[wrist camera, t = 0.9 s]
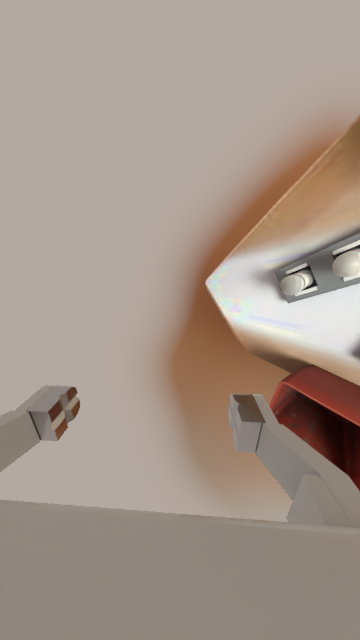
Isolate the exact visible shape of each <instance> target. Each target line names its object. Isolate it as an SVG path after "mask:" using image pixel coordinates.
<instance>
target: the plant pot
mask: <svg viewBox="0 0 360 640" xmlns="http://www.w3.org/2000/svg"><path fill="white" fill-rule="evenodd" d="M322 405H323V406H322ZM269 406H270V408H271V410H272V412H273V414H274V415H275V417H276V419H277V421H278V423H279V424H283V425H284V426H286V427H287V428H288V429H289V430H291V431H292V432H293V433H294V434H296V435H297V436H298V437H300V438H301V439H302V440H303V441H305V442H306V443H307V444H308V445H310V446H311V447H312V448H313V449H315V450H316V451H317V452H319V453H320V454H321V455H322V456H324V457H325V458H326V459H327V460H329V461H330V462H331V463H333V464H334V465H335V466H336V467H338V468H339V469H340V470H341V471H343V472H344V473H345V474H347V475H348V476H349V477H350V479H351V480H352V481H353V483H354V484H355V485H356V487H357V488H358V490H359V491H360V386H358V385H355V384H353V383H351V382H349V381H347V380H345V379H343V378H340V377H338V376H336V375H334V374H332V373H330V372H327V371H325V370H323V369H321V368H319V367H317V366H313V365H312V366H307V367H304V368H301V369H299V370H297V371H295V372H293V373H291V374H290V375H289V376H287V377H286V378H285V379H283V380H282V381H281V382H280V383H279V385H278V387H277V390H276V392H275V394H274V396H273V399H272V401H271V403H270V405H269Z"/></svg>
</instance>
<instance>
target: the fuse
mask: <svg viewBox="0 0 360 640" xmlns="http://www.w3.org/2000/svg"><path fill="white" fill-rule="evenodd" d="M314 281H315V278H314V275H313V273H312V271H311V270H307V269H305V270H301V271H299V272H297V273H295V274H292V275H289V276H287V277H285V278H284V279H283V280H282V281H281V283H280V289H281V291H282V292H283V293H284V294H286V295H295V294H297V293H299V292H300V291H302V290H303V289H304V288H306V287H308V286H310V285H311V284H312V283H313V282H314Z"/></svg>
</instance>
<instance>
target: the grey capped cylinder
mask: <svg viewBox="0 0 360 640" xmlns="http://www.w3.org/2000/svg"><path fill="white" fill-rule="evenodd" d="M332 270H333V272H334V273H335V274H336V275H338V276H340V277H352V276H355V275H358V274H359V273H360V248H358V249H353V250H351V251H348V252H346V253H344V254H342V255H340V256H338V257H337V258H336V259H335V261H334V262H333V265H332Z"/></svg>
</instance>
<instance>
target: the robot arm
mask: <svg viewBox="0 0 360 640" xmlns="http://www.w3.org/2000/svg"><path fill="white" fill-rule="evenodd" d="M76 394H77V390H76V388H75V387H68V386H50V385H46V386H43V387H42V388H40V389H39V390H38V391H37V392H36V393H35V394H33V395H32V396H31V397H30V398H29V399H28V400H27V401H25V402H24V403H23V404H22V405H21V406H20V407H18V408H17V409H16V410H15V411H10V412H7V413H5V414H3V415H1V416H0V472H1V471H2V470H3V469H5V468H6V467H7V466H9V465H10V464H11V463H13V462H14V461H15V460H16V459H18V458H19V457H21V456H22V455H23V454H24V453H26V452H27V451H28V450H30V449H31V448H32V447H34V446H35V445H36V444H38V443H39V442H40V440H52V441H58V440H59V439H60V437H61V436H62V435H63V433H64V431H66V429H67V428H68V422H70V421H72V420H73V419H74V418H75V417H76V415H77V414H78V411H79V408H80V401H79V399H78V398H77V397H76ZM230 402H231V405H230V406H229V410H228V414H229V415H228V416H229V423H230V427H231V428H232V429H233V430H234V431H233V440H234V443H235V448H236V451H240V452H251V453H256V455H257V456H258V457H259V458H260V460H261V461H262V463H263V464H264V465H265V466H266V468H267V469H268V470H269V471H270V473H271V474H272V475H273V476H274V478H275V479H276V480H277V481H278V483H279V484H280V485H281V486H282V487H283V489H284V490H285V491H286V492H287V494H288V495H289V496H290V498H291V499H292V500H293V502H292V505H291V507H290V510H289V512H288V515H287V520H288V522H276V521H264V520H250V519H238V518H226V517H213V516H200V515H187V514H175V513H162V512H149V511H137V510H136V511H135V510H124V509H111V508H98V507H85V506H73V505H61V504H60V505H59V504H48V503H35V502H22V501H9V500H0V640H360V491H359V490H358V488H357V487H356V485H355V484H354V483H353V481H352V480H351V479H350V477H349V476H348V475H347V474H345V473H344V472H343V471H341V470H340V469H339V468H338V467H336V466H335V465H334V464H333V463H331V462H330V461H329V460H327V459H326V458H325V457H324V456H322V455H321V454H320V453H319V452H317V451H316V450H315V449H313V448H312V447H311V446H310V445H308V444H307V443H306V442H305V441H303V440H302V439H301V438H300V437H298V436H297V435H296V434H294V433H293V432H292V431H291V430H289V429H288V428H287V427H286V426H284V425H283V424H279V423H278V421H277V419H276V417H275V415H274V414H273V412H272V410H271V408H270V406H269V405H268V403H267V401H266V399H265V397H264V396H263V395H262V394H231V396H230Z"/></svg>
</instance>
